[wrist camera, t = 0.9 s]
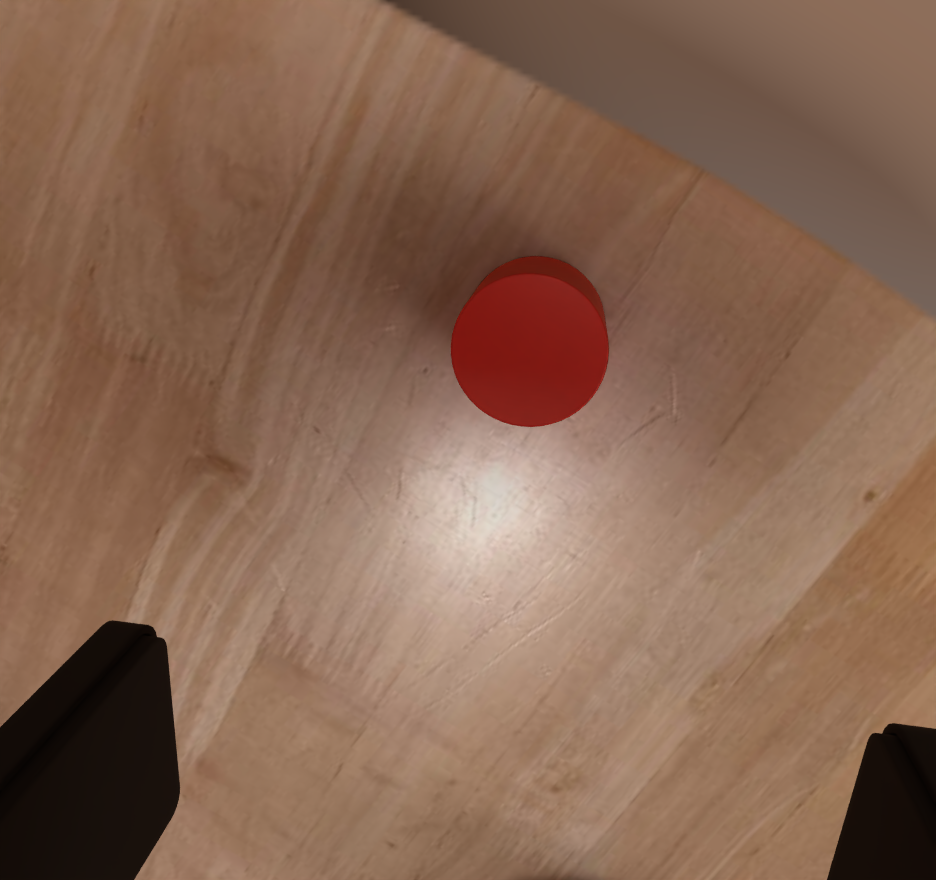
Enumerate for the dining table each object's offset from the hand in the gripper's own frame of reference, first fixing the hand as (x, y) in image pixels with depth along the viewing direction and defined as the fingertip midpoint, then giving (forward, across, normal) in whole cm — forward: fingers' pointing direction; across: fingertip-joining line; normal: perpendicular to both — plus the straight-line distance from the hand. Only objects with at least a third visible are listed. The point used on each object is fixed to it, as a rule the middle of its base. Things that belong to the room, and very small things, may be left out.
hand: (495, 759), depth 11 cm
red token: (+17, +1, -2) cm, 17 cm away
